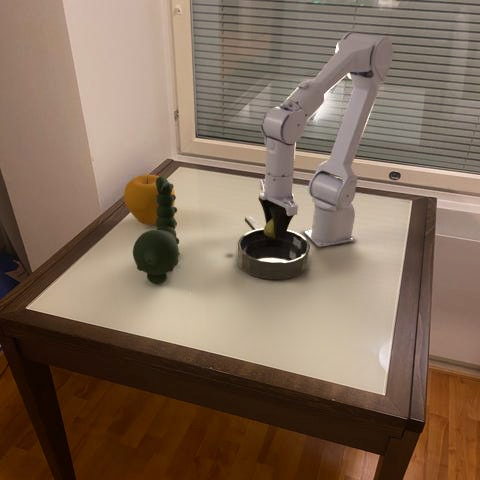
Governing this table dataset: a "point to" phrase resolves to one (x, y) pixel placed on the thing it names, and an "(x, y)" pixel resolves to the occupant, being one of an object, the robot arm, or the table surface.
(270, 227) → the lime
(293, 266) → the skillet
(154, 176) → the apple
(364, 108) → the robot arm
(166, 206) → the toy figurine
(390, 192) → the table surface
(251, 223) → the skillet handle
